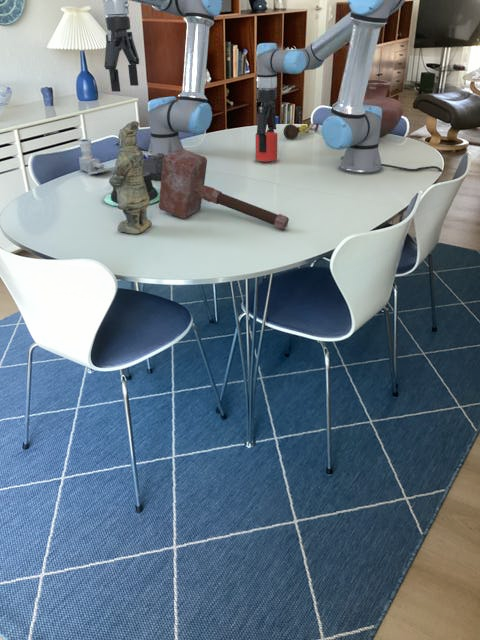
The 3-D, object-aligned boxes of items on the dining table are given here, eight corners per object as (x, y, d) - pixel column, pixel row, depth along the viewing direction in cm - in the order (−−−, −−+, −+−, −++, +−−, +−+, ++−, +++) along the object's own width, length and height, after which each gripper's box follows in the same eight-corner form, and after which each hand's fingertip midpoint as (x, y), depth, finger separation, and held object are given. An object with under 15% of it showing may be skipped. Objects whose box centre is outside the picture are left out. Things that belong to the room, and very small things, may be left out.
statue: (131, 220, 168) (117, 116, 152) (158, 224, 164) (147, 118, 149) (109, 233, 159) (93, 124, 144) (138, 237, 156) (124, 126, 140)
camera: (89, 136, 215) (112, 142, 207) (93, 167, 222) (116, 174, 213) (70, 140, 210) (93, 147, 201) (75, 171, 216) (97, 179, 207)
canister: (274, 155, 228) (275, 131, 223) (279, 160, 221) (279, 135, 216) (254, 156, 227) (253, 132, 222) (257, 161, 220) (257, 137, 215)
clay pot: (397, 133, 263) (404, 75, 251) (402, 148, 238) (410, 85, 225) (333, 131, 268) (336, 75, 256) (330, 146, 243) (334, 85, 230)
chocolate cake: (91, 202, 180) (113, 186, 197) (142, 231, 182) (160, 212, 199) (107, 162, 172) (129, 148, 190) (160, 192, 174) (177, 176, 192)
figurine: (325, 121, 268) (300, 123, 249) (324, 137, 271) (299, 140, 252) (301, 118, 274) (275, 120, 255) (300, 134, 277) (274, 137, 258)
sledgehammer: (299, 190, 156) (179, 147, 167) (285, 200, 148) (161, 154, 160) (286, 244, 166) (174, 200, 177) (272, 256, 158) (156, 209, 170)
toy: (139, 150, 209) (172, 153, 203) (141, 172, 213) (174, 177, 207) (125, 155, 202) (159, 159, 196) (128, 178, 206) (161, 183, 200)
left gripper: (109, 17, 163) (118, 94, 174) (144, 14, 184) (151, 83, 194) (86, 17, 165) (97, 93, 176) (124, 14, 186) (131, 82, 196)
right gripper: (266, 84, 220) (266, 142, 232) (247, 92, 203) (248, 154, 215) (284, 84, 218) (283, 143, 229) (266, 93, 201) (266, 156, 212)
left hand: (125, 88), depth 185 cm, fingers open, 13 cm apart
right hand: (266, 149), depth 222 cm, fingers closed on canister, 9 cm apart
